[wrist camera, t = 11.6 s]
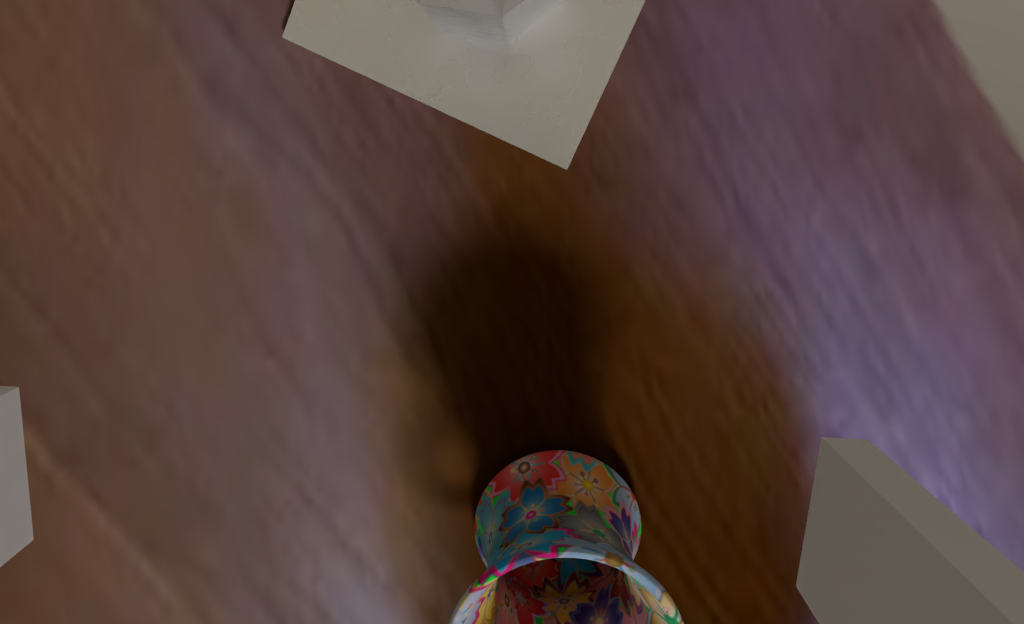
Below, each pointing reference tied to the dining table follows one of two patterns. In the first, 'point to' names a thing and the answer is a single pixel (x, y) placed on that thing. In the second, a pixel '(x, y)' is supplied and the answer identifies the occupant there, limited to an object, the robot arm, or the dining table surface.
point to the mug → (561, 548)
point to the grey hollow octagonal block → (487, 16)
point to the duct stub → (480, 64)
